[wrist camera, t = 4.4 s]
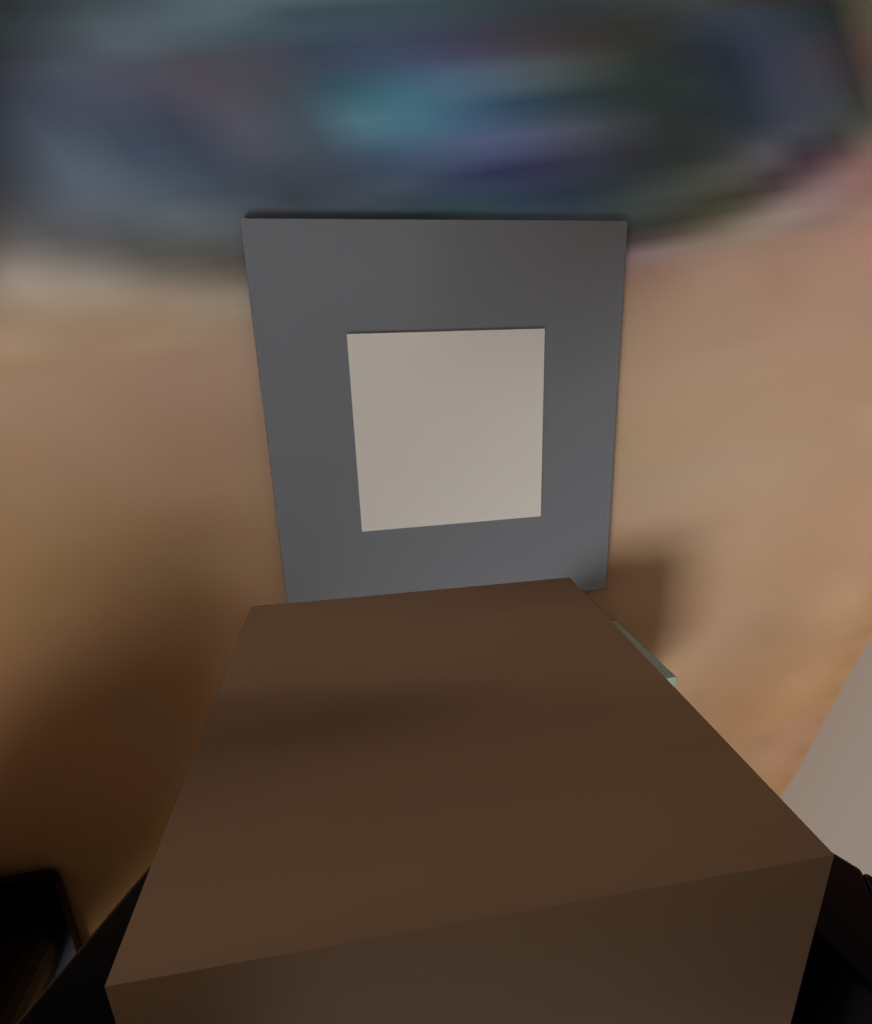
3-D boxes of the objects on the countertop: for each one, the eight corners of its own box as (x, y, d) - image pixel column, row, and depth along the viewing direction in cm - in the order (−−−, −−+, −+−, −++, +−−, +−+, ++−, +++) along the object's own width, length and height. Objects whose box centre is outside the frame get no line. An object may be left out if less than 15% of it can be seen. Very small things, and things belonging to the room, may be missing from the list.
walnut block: (557, 817, 10) (737, 1227, 5) (288, 859, 9) (225, 1371, 5) (569, 577, 9) (834, 854, 4) (251, 606, 8) (105, 986, 3)
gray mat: (602, 586, 23) (606, 590, 22) (290, 620, 21) (289, 625, 20) (623, 222, 19) (629, 220, 18) (241, 220, 17) (239, 217, 16)
